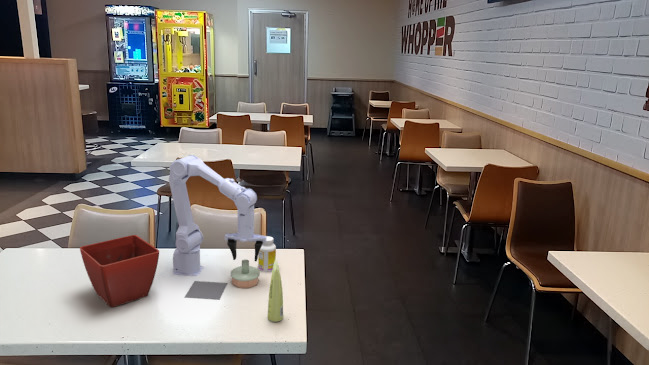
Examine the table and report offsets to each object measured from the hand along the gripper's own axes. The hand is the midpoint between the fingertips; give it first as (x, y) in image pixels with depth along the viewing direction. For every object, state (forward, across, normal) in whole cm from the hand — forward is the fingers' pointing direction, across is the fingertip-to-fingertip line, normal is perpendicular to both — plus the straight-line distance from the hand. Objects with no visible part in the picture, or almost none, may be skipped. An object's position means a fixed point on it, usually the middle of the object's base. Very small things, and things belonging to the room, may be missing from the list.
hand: (245, 259), depth 176 cm
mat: (+9, -12, -8) cm, 17 cm away
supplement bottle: (+9, +6, +12) cm, 16 cm away
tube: (+9, +14, -22) cm, 28 cm away
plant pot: (+10, -39, -14) cm, 42 cm away
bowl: (+9, 0, 0) cm, 9 cm away
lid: (+6, 0, 0) cm, 6 cm away
